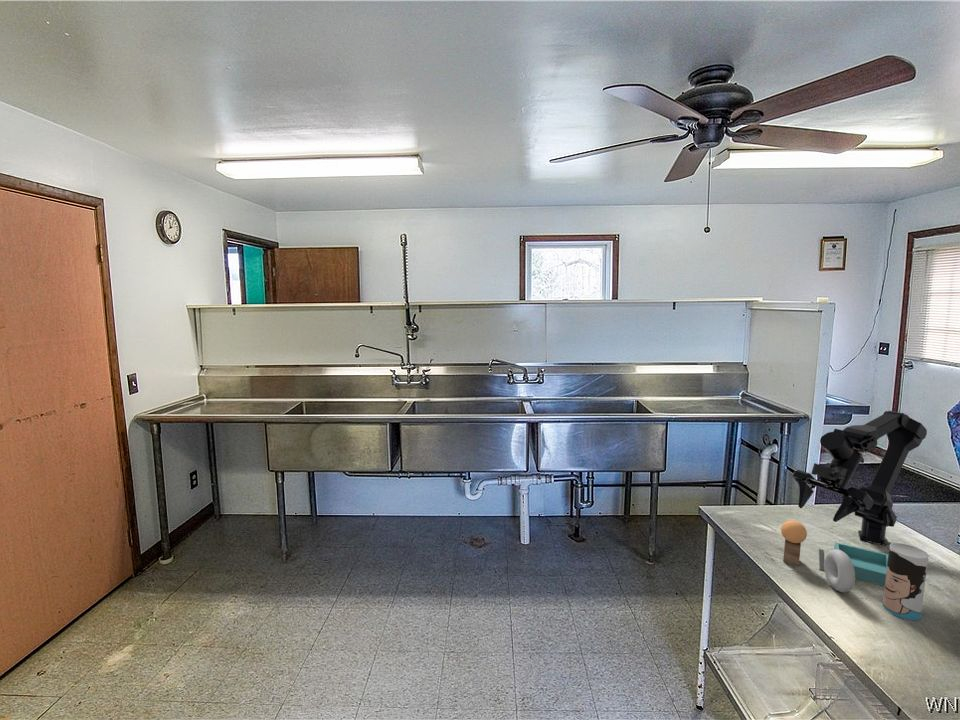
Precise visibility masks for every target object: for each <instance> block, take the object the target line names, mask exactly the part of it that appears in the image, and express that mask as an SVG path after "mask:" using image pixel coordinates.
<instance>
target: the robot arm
mask: <svg viewBox="0 0 960 720" xmlns="http://www.w3.org/2000/svg"><path fill="white" fill-rule="evenodd" d="M927 432H928V430H927V428H926V427H925V426H924V425H923V424H922V423H921V422H919V421H917V420H915V419H913V418H912V417H910V416H909V415H908V414H905V412H898V411H895V410H886V411H884V412H883V413H882V414H881V415H879V416H877V417H876V418H874V419H872V420H870V421H869V422H866V423H864V424H859V425H850V426H846V427H845V428H844V429H838V428H834V430H833V431H829V432H826V433H825V434H824V435H822V436H821V437H820V439H819V442H820V445H821V447H822V448H823V449H824V450H825V452H826V453H827V454H828V455H829V456H830V457H831V458H832V460H831V461H830V462H826V463H825V465H823V464H819V463H813V465H812V469H811V473H810V472H807V471H803V470H800V469H797V470H794V472H793V473H792V475H791V477H792V478H793V479H794V481H795V483H797V485H798V486H799V487H798V488H799V496H798V497H799V498H798V508H799V509H803V508H804V506H805V505H806V504H807V502H808V501H809V499H810V498H811V496H812V495H813V494H814V490H813V489H815V488H816V487H817V488H820V489H823V490H825V491H828V492H831V493H834V494H837V495H839V496H842V502H841V504H840V506H839V507H838V509H837V511H836V512H835V514H834V516H833V518H832V521H833V522H835V523H837V522H839V521H840V520H842V519H844V518H845V517H846V516H849V515H850V514H853V513H854V516H856V517H859V518H862V520H861V529H860V530H858V532H857V533H858V538H859V540H860V541H864V542H869V543H872V544H878V545H882V546H888V541H887V538H886V532H887V527H891V528H892V527H893V528H894V527H895V524H896V523H897V519H898V517H897V515H896V513H895V512H894V510H893V509H892V508H893V505H894V502H893V500H892V497H891V492H892V490H893V487H894V486H895V483H896V481H897V479H898V476H899V474H900V472H901V470H902V467H903V466H904V463H905V461H906V459H907V457H908V454H909V453H910V451H912V450H915V449H917V448H918V447H920V445H921V444H922V442H923V441H924V440H925V438H926V436H927V434H928V433H927ZM884 436H886V437H887V439H888V443H889V444H888V445H887V447H886V451H885V453H884V455H883V457H882V460H881V461H880V464H879V465H878V468H877V471H876V472H875V475H874V476H873V480H872V481H871V484H869V485H868V486H867V487H866V486H865V487H864V486H862V487H861V488H856V487H853V486H850V487H848V489H847V486H849V484H850V481H851V482H853V481H855V477H854V474H855V472H856V470H857V468H858V466H859V465H860V463H861V464H864V463H865V458H864V457H863V453H862V452H859V451H858V450H860V451H863V452H867V453H868V452H870V451H872V450H873V449H874V448H876V447H877V446H878V440H879V439H880V438H882V437H884ZM814 476H816V477H817V479H816V478H815V477H814Z"/></svg>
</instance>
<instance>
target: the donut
mask: <svg viewBox="0 0 960 720" xmlns="http://www.w3.org/2000/svg"><path fill="white" fill-rule="evenodd" d="M824 556H825V557H824V573H825V574H824V575H825V577H826V579H827V581H828V583H829V585H830V587H832V588H833V589H834V590H836V591H837V592H840V593H848V592H849V591H852V589H853V588H854V587H855V582H856V578H855V570H854V567H853V563H852V561H851V559H850V558H849V556H848V555H847V554H846V553H844V552H843V551H841V550H838V549H834V548H833V549H830V550H829V551H828V552H827V553H826V554H825V555H824Z"/></svg>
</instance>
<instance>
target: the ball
mask: <svg viewBox="0 0 960 720" xmlns="http://www.w3.org/2000/svg"><path fill="white" fill-rule="evenodd" d="M780 532H781V535H782V537H783V538H784V540H785V539H786V540H787V541H789V542H791V543H801V544H802V543H803V542H805V540H806V538H807V536H808V532H807V529H806V527H805V526H804V524H802V523H801V522H799V521H797V520H790V519H789V520H787V521H785V522H783V524H782V525H781V527H780Z"/></svg>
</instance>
